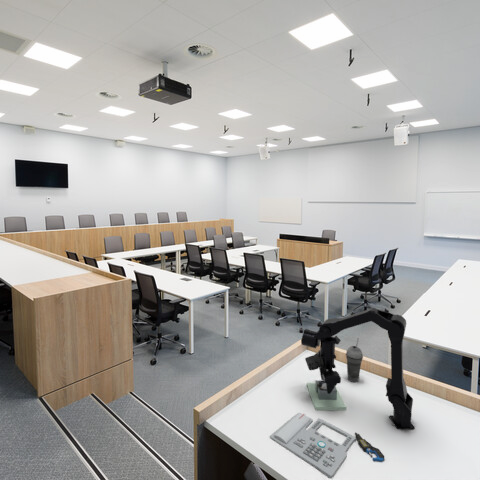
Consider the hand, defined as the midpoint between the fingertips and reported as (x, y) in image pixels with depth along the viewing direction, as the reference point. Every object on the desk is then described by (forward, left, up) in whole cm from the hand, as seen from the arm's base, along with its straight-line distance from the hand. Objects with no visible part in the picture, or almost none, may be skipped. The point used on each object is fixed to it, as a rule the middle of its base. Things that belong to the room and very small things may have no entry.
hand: (325, 386), depth 131 cm
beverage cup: (+13, -16, -5) cm, 21 cm away
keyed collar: (0, 0, -4) cm, 4 cm away
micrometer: (-27, -7, -5) cm, 28 cm away
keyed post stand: (0, 0, -5) cm, 5 cm away
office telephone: (-23, +10, -6) cm, 26 cm away
